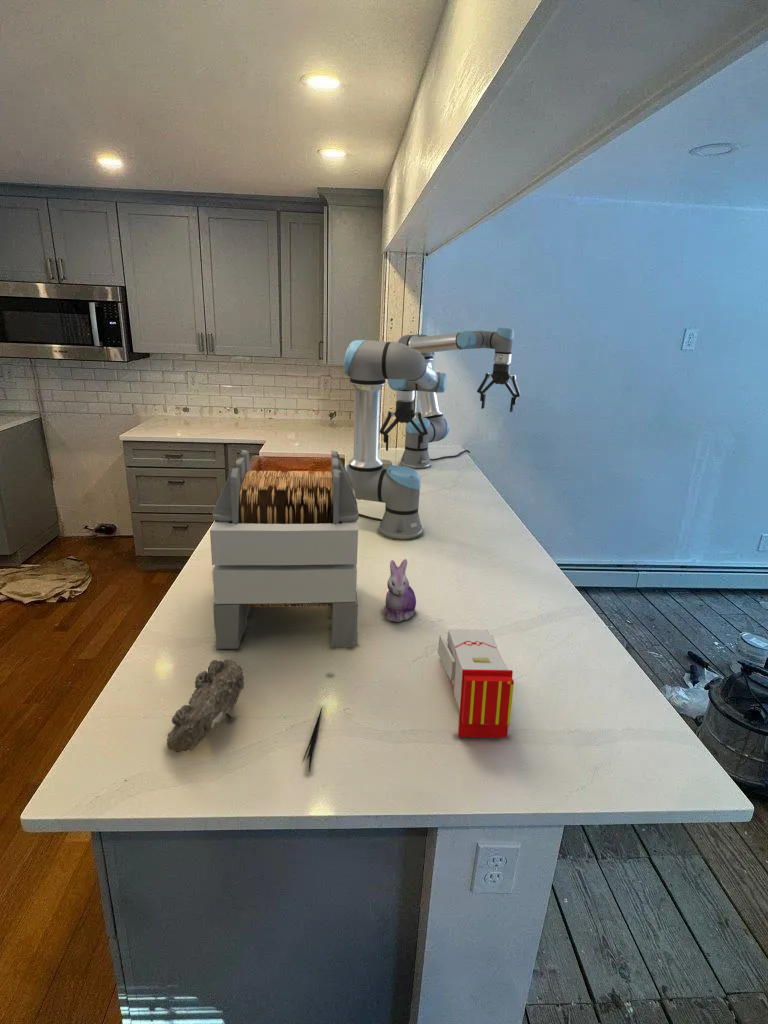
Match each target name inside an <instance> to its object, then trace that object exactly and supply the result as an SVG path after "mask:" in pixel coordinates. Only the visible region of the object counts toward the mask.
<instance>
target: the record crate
mask: <svg viewBox="0 0 768 1024" xmlns="http://www.w3.org/2000/svg"><path fill="white" fill-rule="evenodd" d="M330 459H331V460H330V461H331V462H330V466H331V467H330V471H324V472H323V471H320V470H319V471H317V470H316V471H315V470H314V472H310V471H309V470H288V471H281V470H278V471H277V470H259V471H258V470H251V464H250V450H249V449H247V450H246V449H241V450H240V453H239V455H238V457H237V459H236V461H235V463H234V465H233V467H232V468H231V470H230V472H229V474H228V477H227V479H226V481H225V483H224V485H223V488H222V490H221V492H220V495H219V497H218V499H217V501H216V503H215V506H214V507H213V510H212V520H213V523H212V524H211V527H210V529H209V538H210V555H211V565H212V566H214V567H213V569H212V584H213V600H214V601H213V605H212V610H213V611H212V612H213V624H214V633H215V646H214V648H215V649H216V650H222V651H223V649H225V650H227V649H229V650H230V649H233V650H234V649H235V650H237V649H238V648H239V646H240V643H241V641H242V638H243V635H244V633H245V630H246V628H247V618H249V615H250V612H251V608H270V607H272V608H276V607H277V608H279V607H280V608H282V607H285V608H288V607H291V608H294V607H295V608H296V607H306V606H307V607H326V606H328V607H330V617H331V618H330V620H331V621H330V625H331V626H330V627H331V647H333V648H335V647H337V648H338V647H339V648H340V647H347V648H354V647H356V646H358V622H359V621H358V618H359V600H358V592H357V583H358V568H357V564H358V547H359V546H358V545H359V528H358V527H359V526H358V520H359V517H360V516H359V514H360V513H359V507H358V502H357V499H356V497H355V492H354V487H353V485H352V483H351V481H350V478H349V476H348V474H347V472H346V470H345V465H344V463H343V461H342V459H341V457H340V455H339V453H338V451H337V450H331V458H330Z"/></svg>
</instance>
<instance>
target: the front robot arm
mask: <svg viewBox="0 0 768 1024" xmlns="http://www.w3.org/2000/svg"><path fill="white" fill-rule="evenodd" d="M343 371H344V373H343V374H345V376H347V377H349V378H350V379H349V383H350V385H351V386H352V387H353V389H354V397H353V399H354V401H353V402H354V405H353V406H354V407H353V456H352V457H351V459H350V460H349V462H348V464H347V465H345V466H344V468H345V470H346V472H347V474H348V476H349V478H350V481H351V483H352V485H353V487H354V492H355V497H356V500H358V501H359V500H360V501H361V500H362V501H369V502H376V503H377V502H378V503H383V504H384V505H385V507H384V508H385V509H384V513H383V515H382V518H378V517H373V516H369V515H365V514H363V513H359V516H358V517H361V518H364V519H367V520H372V521H376V522H379V525H378V533H379V534H380V535H381V536H382V537H385V538H387V539H389V540H395V541H410V540H415V539H418V538H420V537H421V536H422V535H423V525H422V524H421V518H420V515H419V507H420V506H419V505H420V496H421V495H420V494H421V493H420V492H421V474H420V472H418V471H417V469H412V468H409V467H406V466H401V464H400V465H399V464H398V465H397V464H392V465H391V466H389V467H388V468H387V469H382V461H381V460H380V459H381V458H379V450H380V449H379V447H380V446H379V444H380V435H383V439H382V440H383V443H384V444H385V451H386V452H388V451H389V434H390V432H391V431H392V430H393V429H394V428H395V427H396V425H398V423H400V424H404V423H405V424H406V423H409V422H411V424H412V425H413V426H414V427H415V429H416V430H417V431H418V432H419V434H420V435H418V445H417V450H418V451H420V443H423V436H424V435H427V434H428V432H427V430H426V428H425V425H424V423H423V421H422V418H421V416H422V413H421V411H418V412H415V401H414V400H415V396H416V395H415V393H416V392H419V391H426V392H435V393H436V394H438V393H439V394H443V393H444V392H445V391H446V389H447V384H448V377H447V374H446V373H445V372H440V371H438V372H437V371H435V370H434V369H433V367H432V368H431V367H430V366H429V365H428V364H427V362H426V359H425V358H424V356H423V355H422V354H421V353H419V352H418V351H417V350H415V349H413V348H411V347H409V346H407V345H405V344H402V343H398V341H397V342H396V341H384V340H370V339H356V340H353V341H351V342H350V343H349V344H348V347H347V348H346V351H345V355H344V359H343ZM386 380H387V385H388V387H389V388H390V389H391V390H392V391H395V392H396V393H395V394H396V395H395V396H396V397H395V399H396V401H395V410H394V412H393V411H390V410H388V412H387V416H386V418H385V420H384V422H383V424H382V425H381V427H380V419H381V417H380V416H381V415H380V414H381V413H380V412H381V389H382V388H383V387H384V386H385V385H386ZM393 417H395V419H394V420H393V422H391V423H390V424H389V422H390V420H391V418H393ZM412 418H418V419H419V422H420V424H421V426H422V428H423V432H422V431H421V430H420V429H419V427H418V426H417V425H416V424H415V422H414V421H413V420H412ZM388 424H389V426H388ZM387 426H388V427H387Z"/></svg>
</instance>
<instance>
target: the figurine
mask: <svg viewBox="0 0 768 1024" xmlns="http://www.w3.org/2000/svg"><path fill="white" fill-rule="evenodd" d="M407 567H408V559H406V558H404V559H403V560H402V561H401V563H400V565H399V566H398V565H397V563H396V562H395V561H394V560H393V559H391V560H390V561H389V570H390V576H389V578H388V579H387V589H388V591H387V592H386V594H385V595H386V596H385V607H384V615H385V616H386V620H387V621H391V622H395V623H400V622H402V621H406V620H409V619H410V618H411V617H413V616H414V615H415V610H416V606H417V597H416V593H415V591H414V590H413V587H411V586H410V582H409V579H408V577H407V574H406V571H407Z"/></svg>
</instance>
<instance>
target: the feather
mask: <svg viewBox="0 0 768 1024" xmlns="http://www.w3.org/2000/svg"><path fill="white" fill-rule="evenodd" d="M329 675H330V676H331V675H332V674H331V673H330V674H329ZM322 710H323V707H321V708H320V710H319V713H318V716H317V719H316V723H315V725H314V728H313V731H312V733H311V737H310V739H309V742H308V745H307V748H306V751H305V754H304V757H303V760H302V763H301V767H302V765H303V763H304V761H305V758H308V759H309V760H308V762H307V763H308V764H307V766H308V771H310V770H311V766H312V765H311V764H312V760H313V757H315V756H314V755H315V751H316V749H315V746H317V739H318V733H319V729H320V722H321V717H322V712H323V711H322ZM313 754H314V755H313ZM306 755H307V757H306Z"/></svg>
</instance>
